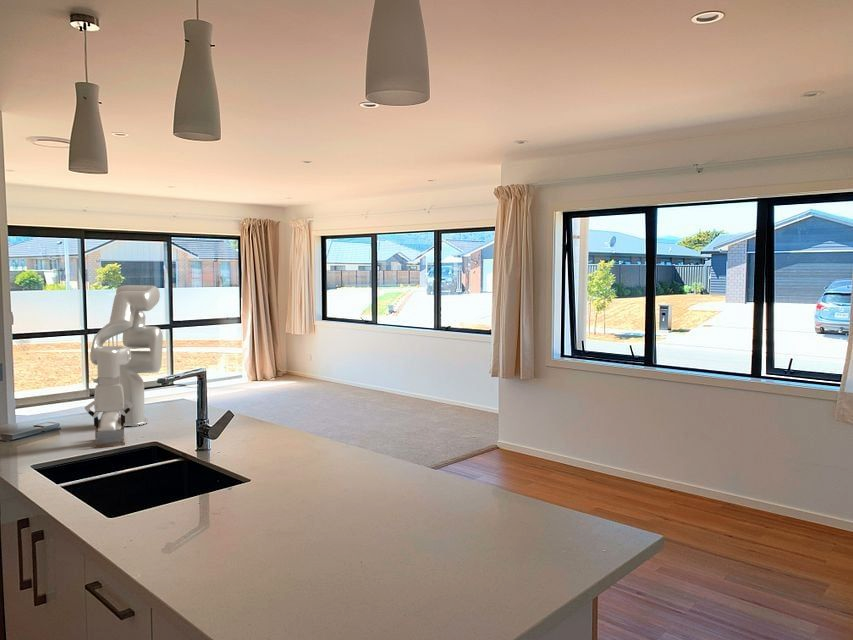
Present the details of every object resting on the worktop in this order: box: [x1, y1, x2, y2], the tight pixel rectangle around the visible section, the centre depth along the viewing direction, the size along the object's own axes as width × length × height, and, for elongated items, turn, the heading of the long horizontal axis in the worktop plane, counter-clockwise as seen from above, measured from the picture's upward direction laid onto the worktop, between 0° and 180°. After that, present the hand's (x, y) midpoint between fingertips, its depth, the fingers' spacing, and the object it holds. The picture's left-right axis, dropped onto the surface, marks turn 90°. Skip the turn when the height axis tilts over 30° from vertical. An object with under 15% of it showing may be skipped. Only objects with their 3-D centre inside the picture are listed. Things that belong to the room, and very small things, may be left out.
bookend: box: [96, 429, 124, 445], centre depth 234 cm, size 4×9×5 cm, turn 118°
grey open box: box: [94, 417, 126, 449], centre depth 238 cm, size 13×10×8 cm
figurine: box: [98, 411, 121, 431], centre depth 238 cm, size 7×8×12 cm
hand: (109, 426), depth 238 cm, fingers closed on figurine, 8 cm apart
